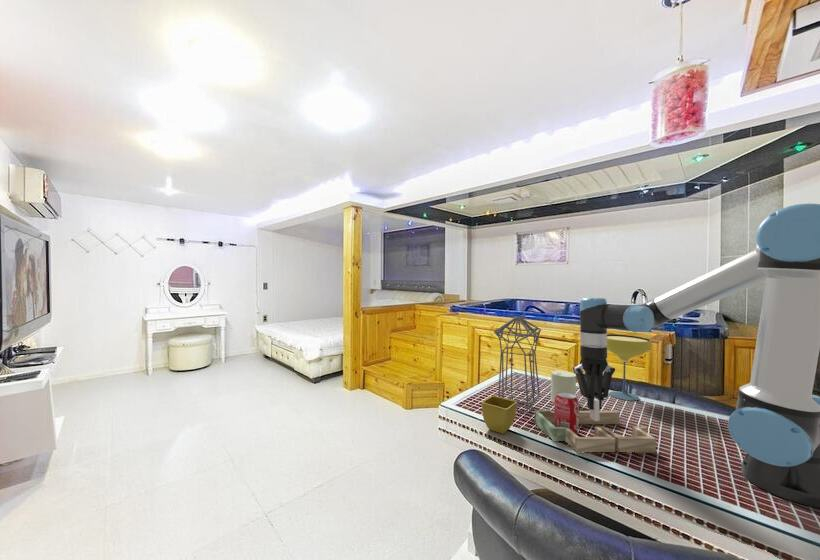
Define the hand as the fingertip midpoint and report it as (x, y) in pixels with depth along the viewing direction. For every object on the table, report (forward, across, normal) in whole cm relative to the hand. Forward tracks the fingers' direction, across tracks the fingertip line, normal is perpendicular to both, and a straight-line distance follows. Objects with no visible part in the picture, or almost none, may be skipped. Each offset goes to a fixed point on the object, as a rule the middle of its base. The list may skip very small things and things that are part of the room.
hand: (594, 419), depth 101 cm
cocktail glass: (+4, -34, -32) cm, 46 cm away
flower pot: (+4, +30, -3) cm, 31 cm away
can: (+4, -4, -26) cm, 26 cm away
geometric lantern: (+4, +17, -21) cm, 27 cm away
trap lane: (+4, +2, +2) cm, 5 cm away
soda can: (+4, +9, -1) cm, 10 cm away
